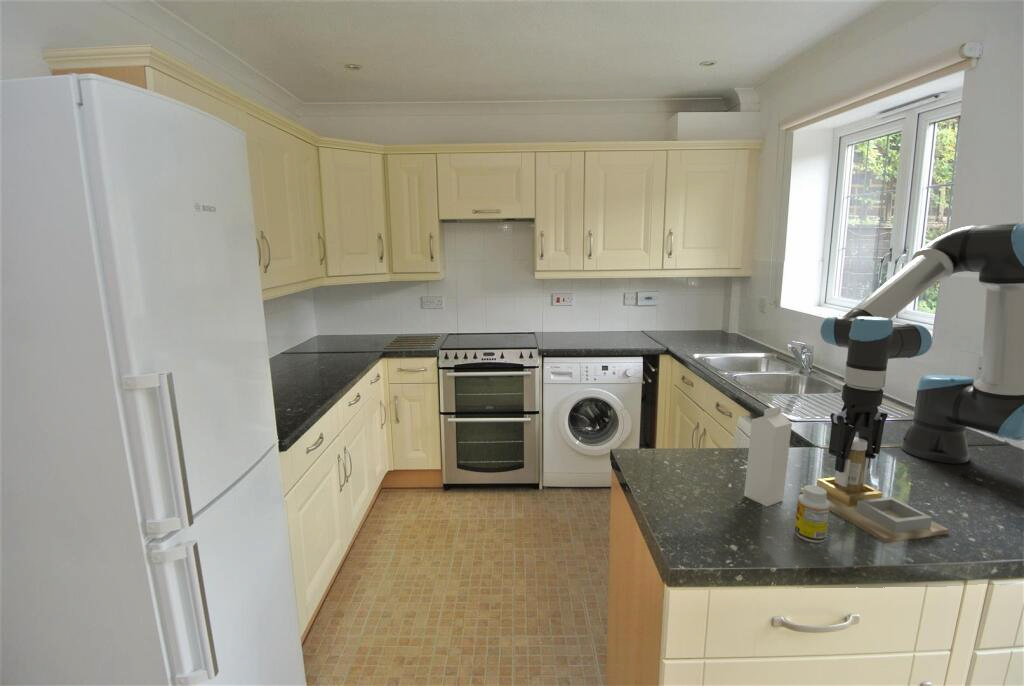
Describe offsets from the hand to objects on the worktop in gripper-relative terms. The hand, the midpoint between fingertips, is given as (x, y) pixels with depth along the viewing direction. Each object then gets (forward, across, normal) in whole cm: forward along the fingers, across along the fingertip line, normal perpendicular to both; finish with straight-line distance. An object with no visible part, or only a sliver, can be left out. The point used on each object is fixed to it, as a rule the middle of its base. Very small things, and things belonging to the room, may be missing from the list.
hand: (849, 483), depth 118 cm
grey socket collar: (+4, 0, +11) cm, 12 cm away
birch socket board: (+4, 0, +6) cm, 7 cm away
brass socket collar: (+4, 0, 0) cm, 4 cm away
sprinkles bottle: (+3, 0, 0) cm, 3 cm away
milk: (+4, +19, -4) cm, 20 cm away
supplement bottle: (+4, +21, +12) cm, 24 cm away
